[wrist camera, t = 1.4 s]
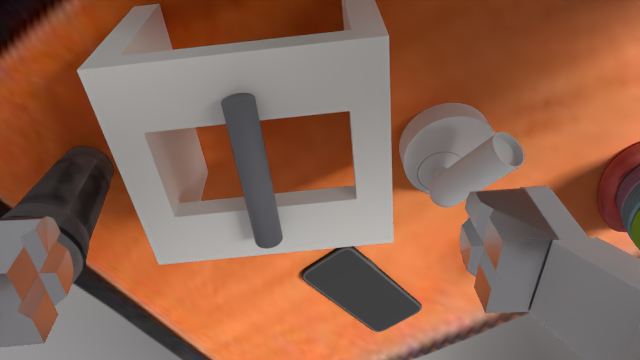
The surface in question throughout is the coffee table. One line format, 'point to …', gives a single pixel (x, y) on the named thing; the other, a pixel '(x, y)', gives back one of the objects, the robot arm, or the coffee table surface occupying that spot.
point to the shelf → (281, 90)
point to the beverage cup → (71, 199)
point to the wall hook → (455, 152)
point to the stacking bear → (622, 194)
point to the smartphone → (361, 288)
